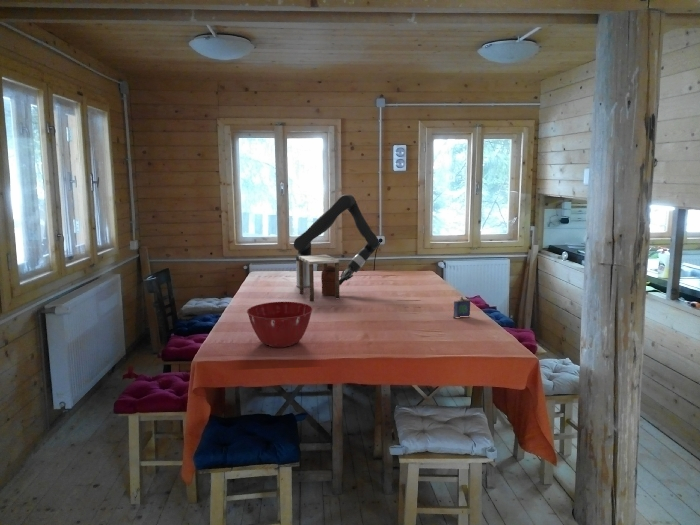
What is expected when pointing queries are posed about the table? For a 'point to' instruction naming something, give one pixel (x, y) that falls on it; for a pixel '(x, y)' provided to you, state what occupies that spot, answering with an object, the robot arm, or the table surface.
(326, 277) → the wooden figurine
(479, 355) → the table surface
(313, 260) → the stand
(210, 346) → the table surface
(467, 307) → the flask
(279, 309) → the mixing bowl
